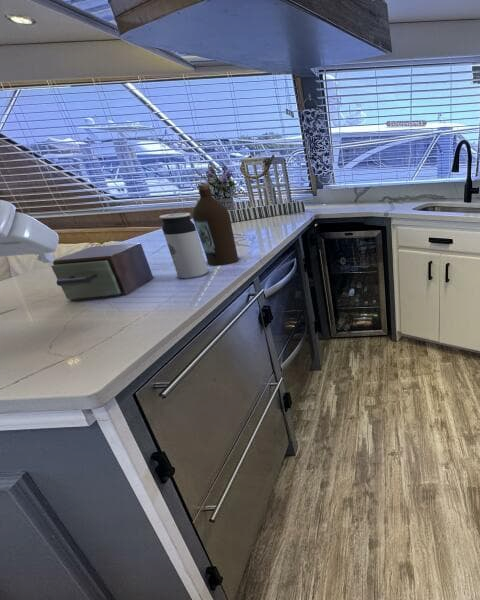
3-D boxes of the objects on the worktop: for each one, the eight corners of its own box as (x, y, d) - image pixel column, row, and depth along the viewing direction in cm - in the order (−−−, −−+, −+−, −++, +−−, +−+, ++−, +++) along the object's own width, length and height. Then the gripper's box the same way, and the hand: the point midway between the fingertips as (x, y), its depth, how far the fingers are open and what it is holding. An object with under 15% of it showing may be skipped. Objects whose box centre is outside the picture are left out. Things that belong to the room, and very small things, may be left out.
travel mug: (205, 268, 103) (188, 211, 96) (210, 274, 98) (193, 214, 91) (176, 274, 99) (156, 215, 92) (180, 280, 93) (159, 218, 86)
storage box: (126, 294, 84) (110, 255, 80) (71, 300, 82) (51, 260, 78) (153, 277, 97) (140, 242, 93) (106, 281, 95) (91, 246, 91)
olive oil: (228, 255, 118) (209, 183, 108) (246, 258, 113) (228, 183, 103) (199, 263, 109) (176, 186, 99) (218, 267, 104) (195, 186, 94)
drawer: (108, 300, 78) (93, 266, 75) (54, 306, 76) (36, 271, 73) (145, 277, 94) (134, 248, 91) (101, 281, 92) (88, 252, 89)
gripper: (-152, 242, 49) (-46, 281, 61) (9, 231, 52) (77, 270, 65) (-134, 208, 51) (-36, 252, 63) (19, 200, 54) (83, 244, 67)
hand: (23, 261), depth 64 cm, fingers open, 8 cm apart
